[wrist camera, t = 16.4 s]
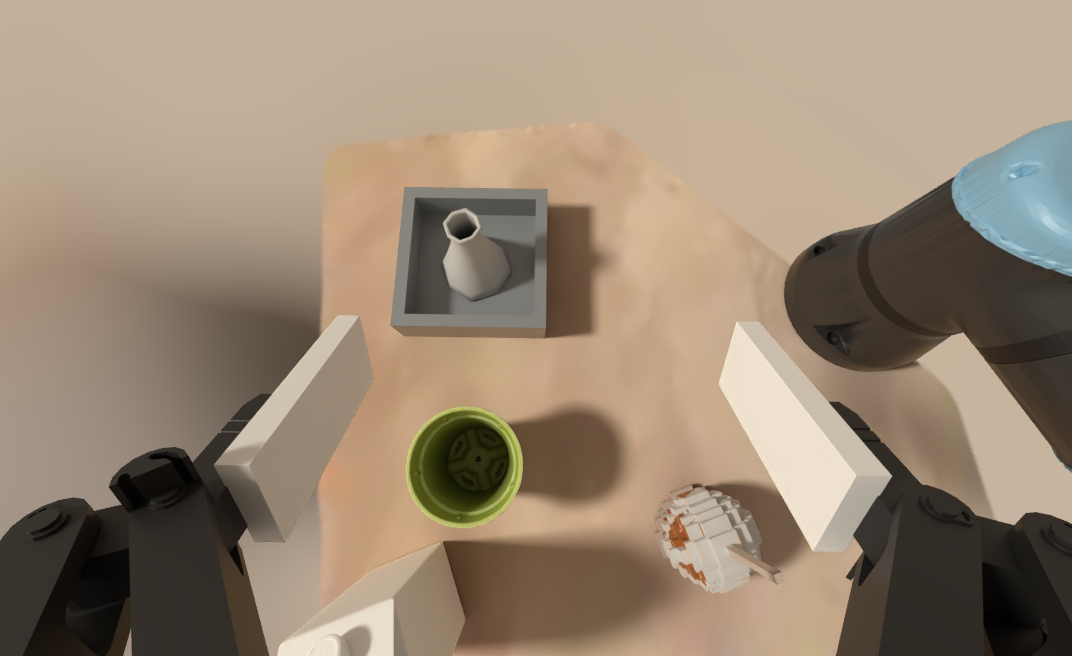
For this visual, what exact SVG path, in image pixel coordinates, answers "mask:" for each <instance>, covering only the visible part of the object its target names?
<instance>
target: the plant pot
mask: <svg viewBox="0 0 1072 656" xmlns="http://www.w3.org/2000/svg"><path fill="white" fill-rule="evenodd" d="M483 434H488V435H491V436H493V437H494V438H495V442H493V441H492V440H491V439H489V438H487V437H485V436H483ZM459 442H462V445H461V447H460V448H459V450H458V452H457V455H455V454H454V452H455V450H456V447H457V445H458V444H459ZM478 456H479V457H480V458H481V460H480V461H479V462H477V461H476V457H478ZM501 463H503V468H502V470H501V473H500V474H499V475H498V476H496V475H495V474H496V473H497V471H498V469H499V467H500V464H501ZM522 475H523V456H522V450H521V447H520V444H519V441H518V439H517V437H516V435H515V433H514V431H513V430H512V429H511V427H510V426H509V425H508V424H507V423H506V422H505V421H504V420H503V419H502V418H500V417H499V416H497V415H496V414H494V413H492V412H490V411H488V410H485V409H482V408H478V407H470V406H463V407H455V408H451V409H448V410H446V411H443V412H441V413H439V414H437V415H436V416H434V417H433V418H431V419H430V420H429V421H428V422H427V423H425V424H424V425H423V427H422V428H421V429H420V430H419V432H418V433H417V434H416V436H415V438H414V440H413V442H412V444H411V446H410V449H409V452H408V456H407V461H406V478H407V484H408V488H409V491H410V493H411V496H412V498H413V500H414V502H415V503H416V505H417V506H418V507H419V508H420V510H421V511H422V512H423V513H424V514H425V515H427V516H428V517H429V518H431V519H432V520H434V521H436V522H438V523H440V524H442V525H445V526H449V527H453V528H472V527H477V526H480V525H484V524H486V523H488V522H490V521H492V520H494V519H495V518H497V517H498V516H499V515H501V514H502V513H503V512H504V511H505V510H506V509H507V508H508V507H509V505H510V504H511V503H512V501H513V500H514V498H515V496H516V494H517V492H518V490H519V487H520V484H521V480H522ZM461 477H465V478H466V479H468V480H469V481H472V482H474V484H473V485H468V484H467V483H465V482H464V481H463V480H462V479H461Z"/></svg>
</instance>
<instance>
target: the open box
mask: <svg viewBox="0 0 1072 656" xmlns="http://www.w3.org/2000/svg"><path fill="white" fill-rule="evenodd" d="M547 190H548V189H499V188H432V187H405V188H404V197H403V207H402V217H401V227H400V237H399V247H398V257H397V267H396V277H395V287H394V297H393V306H392V316H391V326H392V327H393V328H394V329H396V330H397V331H398V332H400V333H401V334H402V335H404V336H432V337H496V338H545V334H546V286H547ZM463 208H467V209H468V210H470V211H472V212H473V213H475V214H476V215H477V216H478V218H479V221H480V224H481V227H482V231H481V233H482V234H483V235H484V236H485V237H487V238H488V239H489V240H491V241H492V242H494V243H496V244H497V245H499V246H501V247H502V248H503V249H504V251H505V253H506V256H507V259H508V262H509V264H510V267H511V270H512V273H511V275H510V276H509V277H508V279H507V280H506V281H505V283H504V284H503V286H502V287H501V288H500V290H499V291H498V293H496V294H493V295H490V296H487V297H484V298H481V299H478V300H475V301H472V302H471V301H470V300H468V299H467V298H465V297H463V296H462V295H460V294H459V293H457V292H456V291H454V290H453V289H451V288H450V287H449V284H448V281H447V278H446V275H445V272H444V269H443V266H442V262H443V260H444V258H445V256H446V254H447V251H448V249H449V246H450V243H451V239H449V238H448V237H447V234H446V231H445V228H444V225H443V222H444V221H445V220H446V219H447V217H448V216H449V215H450V213H451V212H454V211H457V210H460V209H463Z"/></svg>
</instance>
